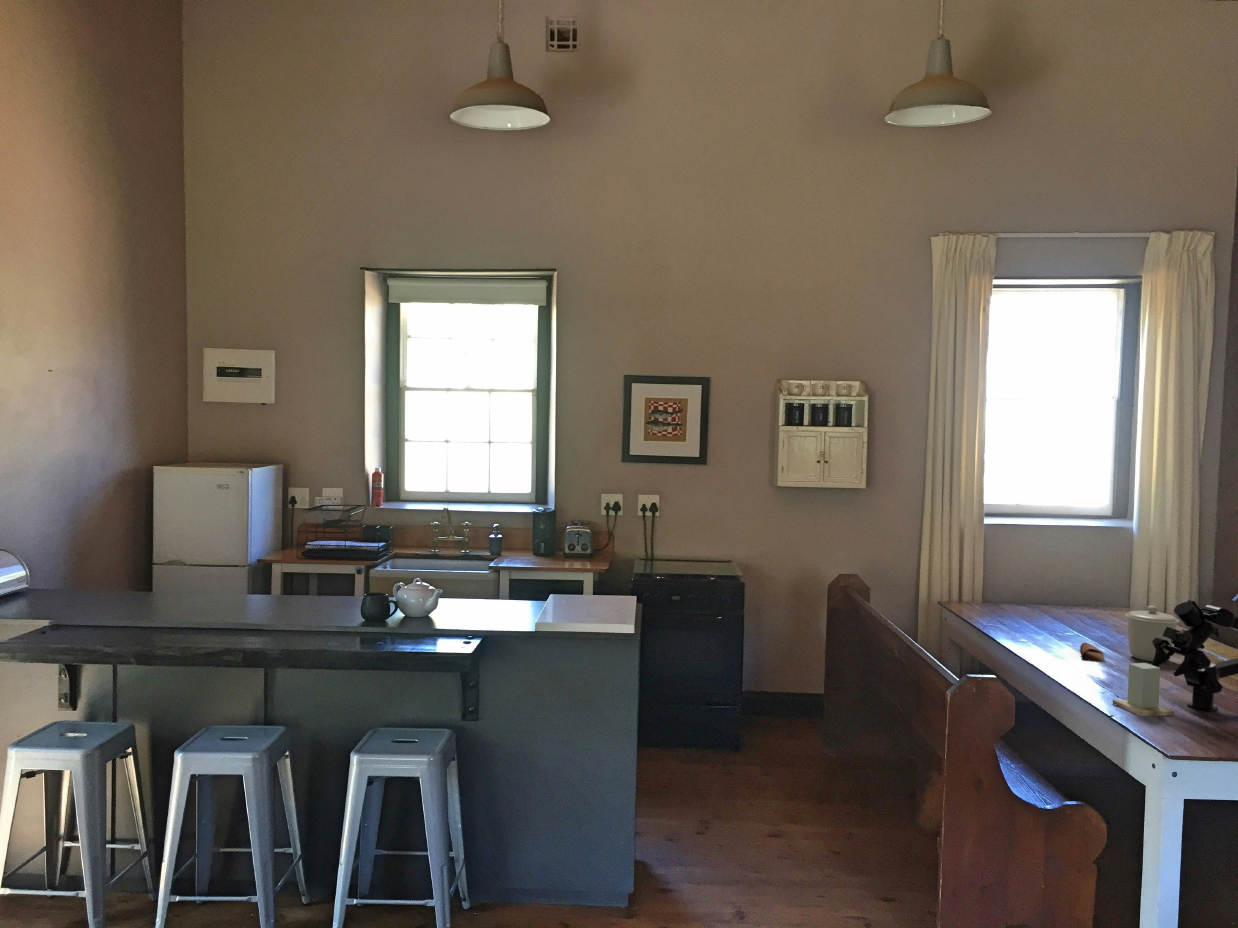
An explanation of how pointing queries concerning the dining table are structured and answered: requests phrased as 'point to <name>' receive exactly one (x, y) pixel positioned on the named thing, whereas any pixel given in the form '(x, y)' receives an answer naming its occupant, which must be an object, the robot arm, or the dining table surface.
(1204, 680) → the robot arm
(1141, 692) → the sage block
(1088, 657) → the brown bread roll
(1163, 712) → the birch slab
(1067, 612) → the dining table surface
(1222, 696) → the dining table surface
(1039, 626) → the dining table surface
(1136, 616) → the canister
